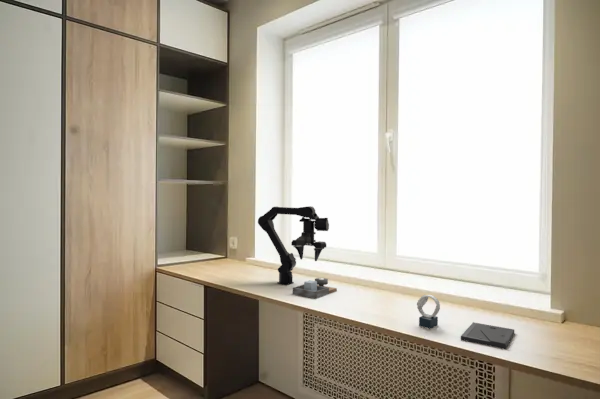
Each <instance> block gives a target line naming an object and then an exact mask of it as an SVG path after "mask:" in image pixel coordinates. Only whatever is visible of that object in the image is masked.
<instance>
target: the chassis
mask: <svg viewBox="0 0 600 399" xmlns="http://www.w3.org/2000/svg"><path fill="white" fill-rule="evenodd" d="M337 289H338V288H337V287H332V286H326V285H317V291H311V290H305V289H304V284H301V285H297V286H295V287H292V295H295V296H302V297H305V298H312V299H319V298H323V297H325V296H328V295H330V294H333V293H336V292H337Z"/></svg>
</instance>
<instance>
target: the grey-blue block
mask: <svg viewBox="0 0 600 399" xmlns="http://www.w3.org/2000/svg"><path fill="white" fill-rule="evenodd" d="M303 283H304V284H303V285H304V289H305V290H311V291H317V281H315V280H306V281H304V282H303Z"/></svg>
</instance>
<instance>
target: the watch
mask: <svg viewBox="0 0 600 399" xmlns="http://www.w3.org/2000/svg"><path fill="white" fill-rule="evenodd" d="M429 298H430V299H431V300H433V301H434V303H435V305H436V306H435V309H434V311H433V312H432V314H428V313H425V311H424V310H423V307H424V306H425V304H427V302H428V300H429ZM416 306H417V307H416V308H417V311H418V312H419V314H420V315H421V316H419V317H418V318H419V319H418V326H419V327H422V328H426V329H433V328H435V327H437V326H438V323H439V321H438V319H439V317H438V316H437V315H438V313H439V312H440V310H441V304H440V301H439V299H438V298H437V297H436V296H435V295H432V294H423V295H422V296H421V297H420V298H419V299H418V300H417V302H416Z"/></svg>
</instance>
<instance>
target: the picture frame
mask: <svg viewBox="0 0 600 399" xmlns="http://www.w3.org/2000/svg"><path fill="white" fill-rule="evenodd" d="M514 335H515V329H514V328H509V327H501V326H498V325H497V326H496V325H492V324H491V325H490V324H485V323H478V322H474V321H473V322H472V323H471V324H469V326H468V328H466V329H465V331H464V332H463V333H462V334H461V335H460V341H463V342H469V343H475V344H479V345H483V346H489V347H492V348H493V347H495V348H498V349H504V350H506V349H508V346H509V344H510V342H511V341H512V339H513V337H514Z"/></svg>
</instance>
